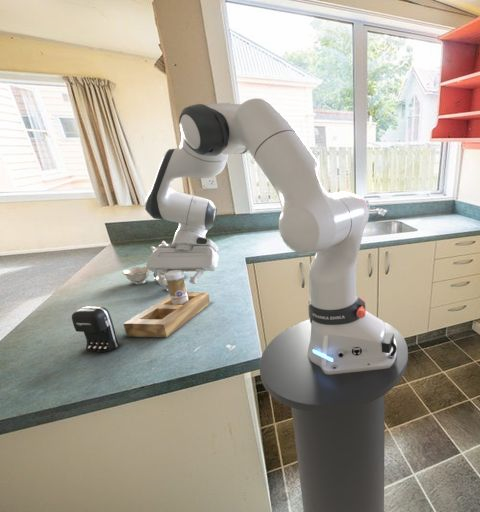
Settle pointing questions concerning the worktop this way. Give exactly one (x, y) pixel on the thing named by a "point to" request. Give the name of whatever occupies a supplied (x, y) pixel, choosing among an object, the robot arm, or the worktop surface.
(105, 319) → the battery charger
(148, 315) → the socket block
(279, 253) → the worktop surface
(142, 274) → the chinaware
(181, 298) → the sprinkles bottle
